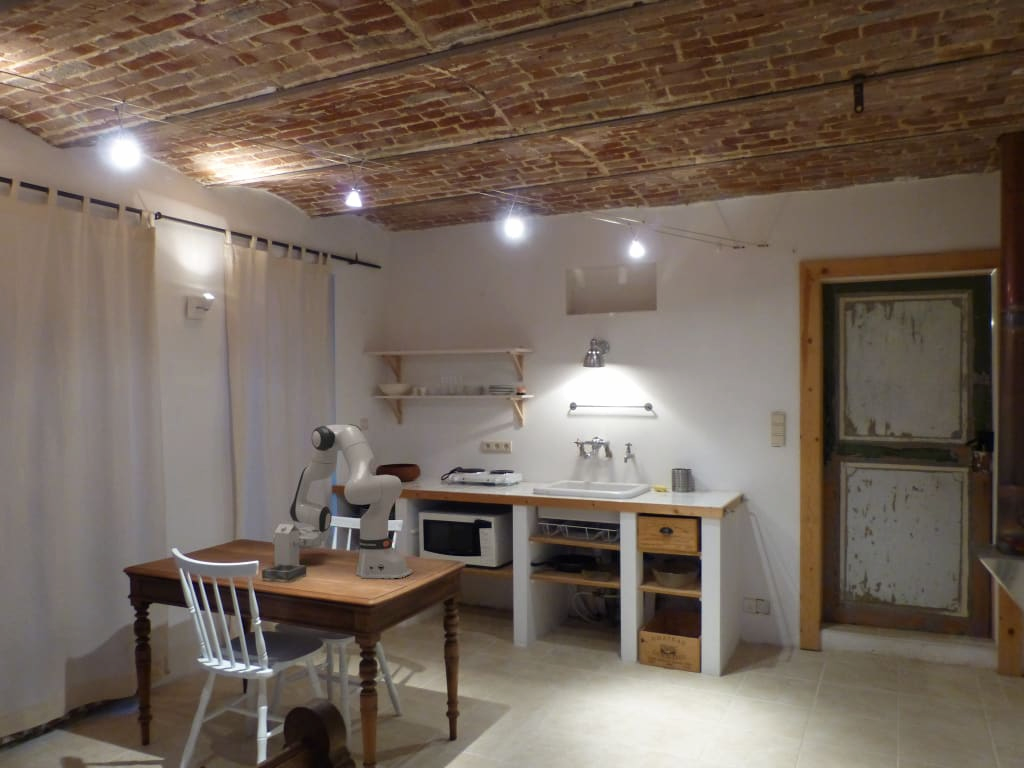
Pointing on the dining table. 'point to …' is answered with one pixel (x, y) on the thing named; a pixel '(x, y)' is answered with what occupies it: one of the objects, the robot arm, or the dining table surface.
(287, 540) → the milk carton
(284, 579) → the square glass ashtray
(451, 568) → the dining table surface
